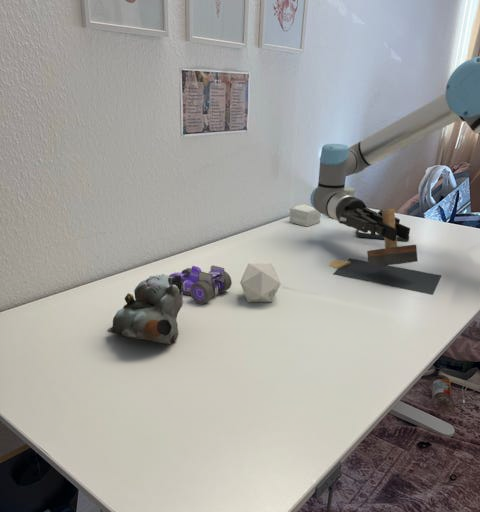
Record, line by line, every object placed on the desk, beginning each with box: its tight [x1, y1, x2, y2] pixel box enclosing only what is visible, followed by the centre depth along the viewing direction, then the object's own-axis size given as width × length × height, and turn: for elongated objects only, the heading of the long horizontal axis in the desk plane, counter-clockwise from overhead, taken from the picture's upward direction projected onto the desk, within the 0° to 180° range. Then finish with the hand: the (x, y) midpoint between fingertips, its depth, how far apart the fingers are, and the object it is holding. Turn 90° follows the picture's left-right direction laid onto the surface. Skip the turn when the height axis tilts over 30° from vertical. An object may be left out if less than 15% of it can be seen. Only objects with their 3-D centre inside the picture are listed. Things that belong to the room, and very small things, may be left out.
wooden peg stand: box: [366, 208, 419, 267], centre depth 115 cm, size 9×7×13 cm
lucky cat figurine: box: [106, 274, 184, 345], centre depth 90 cm, size 15×12×14 cm
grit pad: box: [328, 259, 350, 270], centre depth 126 cm, size 5×5×1 cm
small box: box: [288, 204, 322, 227], centre depth 164 cm, size 8×8×5 cm
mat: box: [332, 257, 442, 296], centre depth 120 cm, size 24×14×1 cm, turn 61°
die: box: [239, 263, 282, 303], centre depth 106 cm, size 8×9×10 cm
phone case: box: [356, 229, 410, 242], centre depth 153 cm, size 9×2×16 cm
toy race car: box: [168, 265, 233, 305], centre depth 109 cm, size 10×15×6 cm, turn 57°
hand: (401, 234), depth 111 cm, fingers closed on wooden peg stand, 3 cm apart
